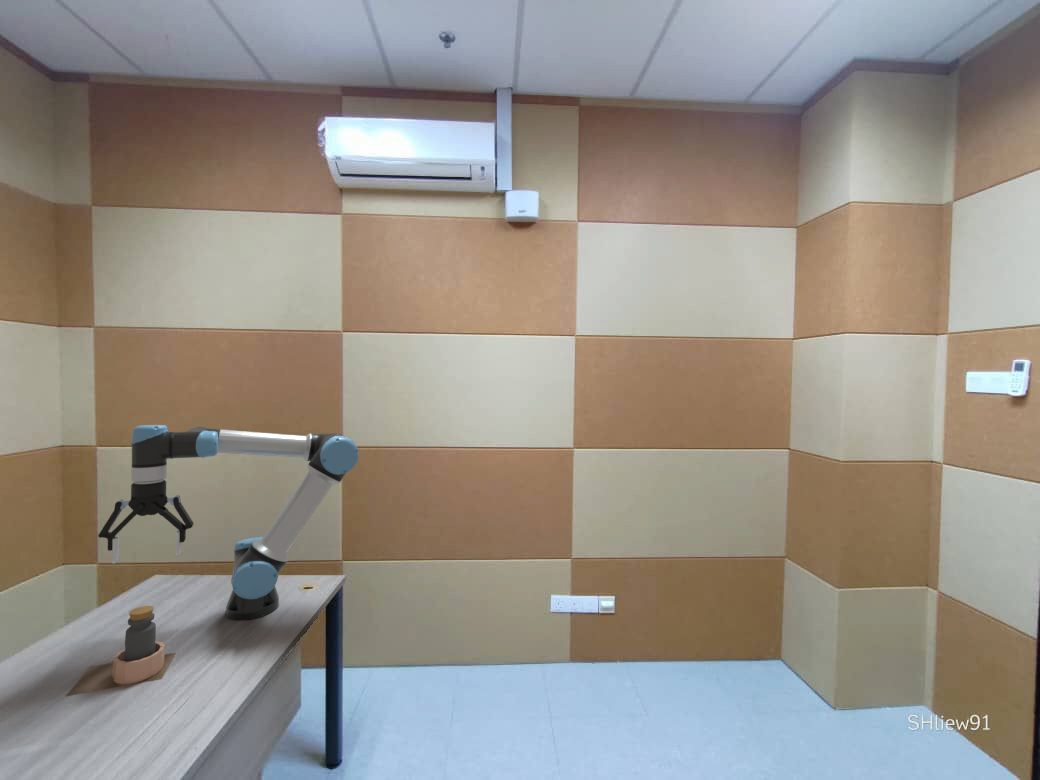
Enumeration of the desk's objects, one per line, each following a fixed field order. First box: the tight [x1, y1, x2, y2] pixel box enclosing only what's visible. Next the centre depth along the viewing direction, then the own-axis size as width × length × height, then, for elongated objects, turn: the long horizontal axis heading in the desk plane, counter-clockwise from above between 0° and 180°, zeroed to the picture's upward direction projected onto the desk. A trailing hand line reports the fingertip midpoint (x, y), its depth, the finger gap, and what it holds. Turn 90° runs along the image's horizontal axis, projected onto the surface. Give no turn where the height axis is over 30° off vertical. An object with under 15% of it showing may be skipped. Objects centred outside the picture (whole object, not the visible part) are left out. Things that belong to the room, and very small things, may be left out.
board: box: [65, 652, 177, 697], centre depth 112 cm, size 18×12×1 cm, turn 113°
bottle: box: [124, 605, 157, 662], centre depth 113 cm, size 6×6×15 cm
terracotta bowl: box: [112, 640, 166, 686], centre depth 113 cm, size 10×10×5 cm
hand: (147, 557), depth 124 cm, fingers open, 13 cm apart
